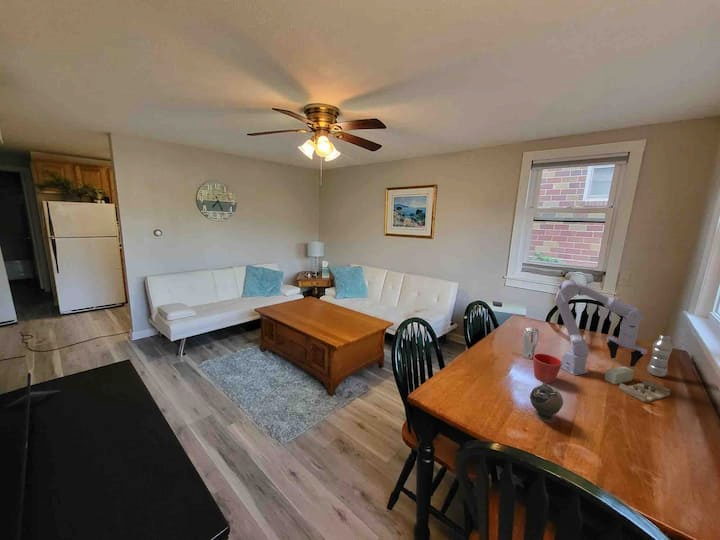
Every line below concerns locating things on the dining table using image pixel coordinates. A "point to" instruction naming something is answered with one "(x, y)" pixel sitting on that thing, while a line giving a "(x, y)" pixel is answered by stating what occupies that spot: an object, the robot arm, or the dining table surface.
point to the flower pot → (546, 367)
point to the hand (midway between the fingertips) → (622, 361)
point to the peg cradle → (645, 390)
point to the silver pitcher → (529, 342)
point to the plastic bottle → (660, 356)
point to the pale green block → (619, 375)
